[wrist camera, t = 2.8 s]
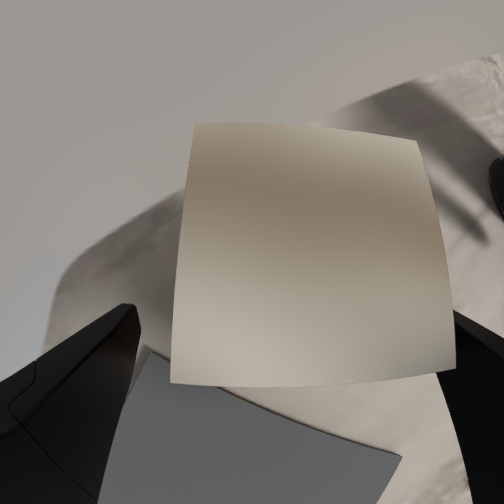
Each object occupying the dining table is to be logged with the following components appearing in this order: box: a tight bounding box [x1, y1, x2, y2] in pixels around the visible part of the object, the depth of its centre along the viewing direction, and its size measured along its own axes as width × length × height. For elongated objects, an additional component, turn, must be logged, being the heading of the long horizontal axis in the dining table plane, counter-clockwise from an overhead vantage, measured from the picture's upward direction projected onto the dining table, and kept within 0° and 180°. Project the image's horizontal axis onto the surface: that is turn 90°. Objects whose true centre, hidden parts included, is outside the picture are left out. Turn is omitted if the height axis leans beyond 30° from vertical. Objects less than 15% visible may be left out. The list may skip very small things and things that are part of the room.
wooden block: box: [170, 123, 456, 387], centre depth 11 cm, size 5×5×12 cm
